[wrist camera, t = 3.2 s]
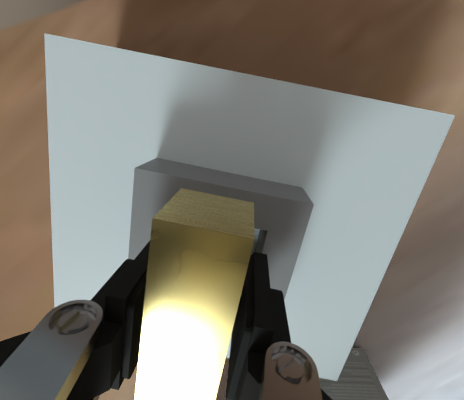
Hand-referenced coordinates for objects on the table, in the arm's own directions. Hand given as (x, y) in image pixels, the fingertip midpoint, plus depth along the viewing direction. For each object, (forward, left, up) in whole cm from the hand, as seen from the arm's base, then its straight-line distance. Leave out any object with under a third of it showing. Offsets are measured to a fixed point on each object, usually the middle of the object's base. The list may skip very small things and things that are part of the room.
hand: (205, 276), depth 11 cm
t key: (0, 0, -3) cm, 3 cm away
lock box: (0, 0, -9) cm, 9 cm away
